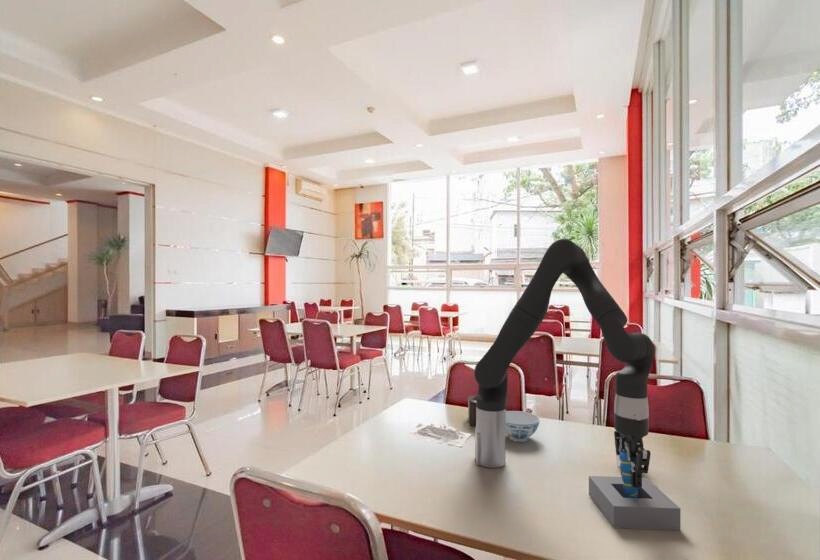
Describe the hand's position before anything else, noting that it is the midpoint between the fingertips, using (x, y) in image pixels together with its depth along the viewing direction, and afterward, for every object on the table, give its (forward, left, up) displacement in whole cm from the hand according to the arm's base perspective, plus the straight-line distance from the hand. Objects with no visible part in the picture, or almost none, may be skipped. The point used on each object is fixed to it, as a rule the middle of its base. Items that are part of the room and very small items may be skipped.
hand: (631, 481), depth 102 cm
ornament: (0, 0, -7) cm, 7 cm away
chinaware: (-18, +47, -8) cm, 51 cm away
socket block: (0, 0, -7) cm, 7 cm away
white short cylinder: (+11, +26, -8) cm, 29 cm away
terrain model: (-47, +47, -8) cm, 67 cm away
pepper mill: (-29, +66, -8) cm, 72 cm away
